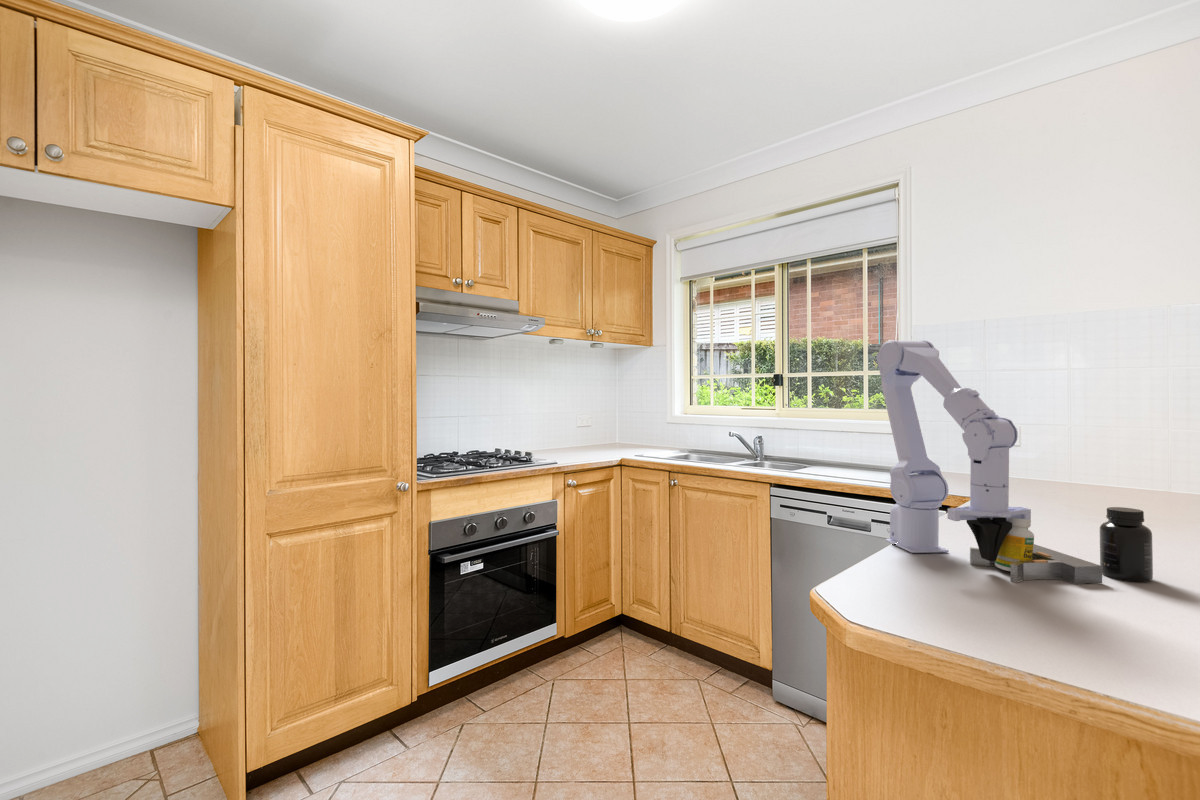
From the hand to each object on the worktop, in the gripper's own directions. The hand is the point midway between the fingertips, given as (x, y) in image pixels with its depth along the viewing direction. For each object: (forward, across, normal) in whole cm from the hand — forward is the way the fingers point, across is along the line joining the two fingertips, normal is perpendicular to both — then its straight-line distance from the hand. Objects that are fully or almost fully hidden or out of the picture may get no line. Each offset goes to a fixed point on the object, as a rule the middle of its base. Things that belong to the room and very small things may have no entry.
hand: (988, 559), depth 101 cm
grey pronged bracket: (+2, +8, 0) cm, 8 cm away
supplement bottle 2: (+3, +22, -4) cm, 23 cm away
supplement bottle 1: (+2, +5, 0) cm, 5 cm away
